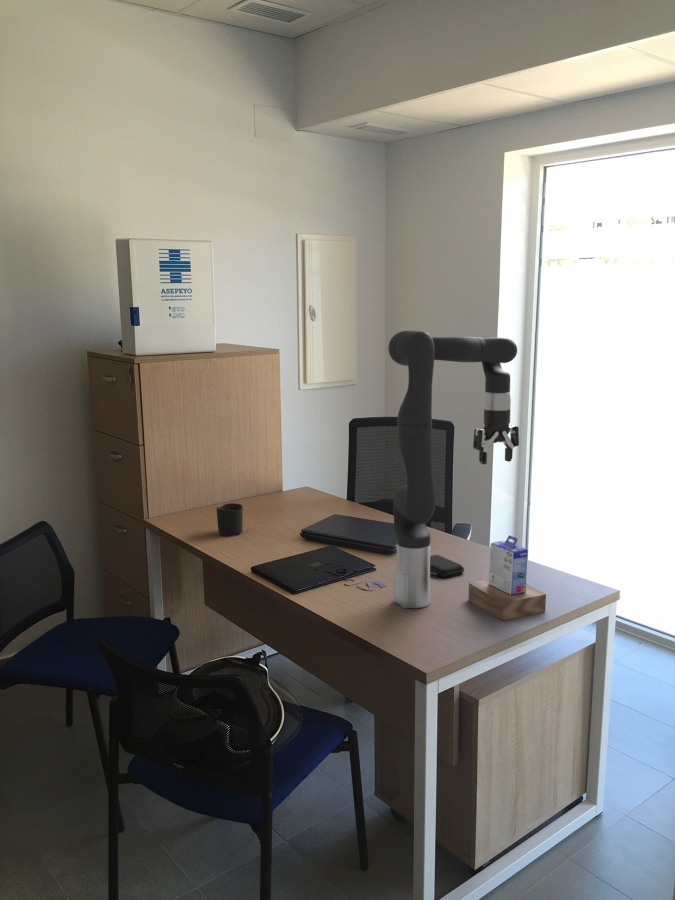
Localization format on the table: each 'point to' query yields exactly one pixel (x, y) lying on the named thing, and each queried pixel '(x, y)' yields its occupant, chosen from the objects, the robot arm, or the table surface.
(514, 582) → the ink cartridge box
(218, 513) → the pen holder
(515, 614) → the wooden block
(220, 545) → the table surface
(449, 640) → the table surface
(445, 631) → the table surface
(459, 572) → the carrying case or bag
